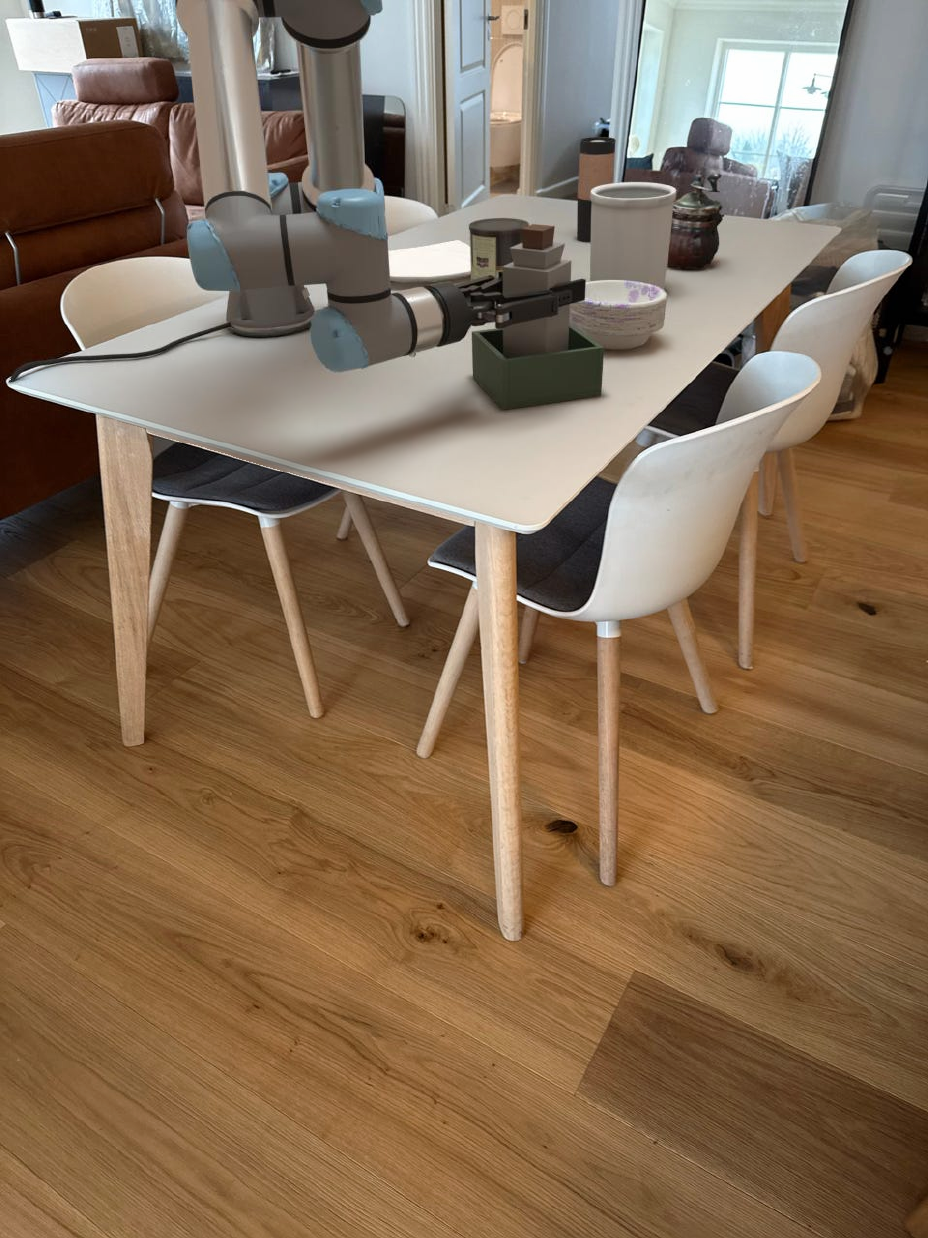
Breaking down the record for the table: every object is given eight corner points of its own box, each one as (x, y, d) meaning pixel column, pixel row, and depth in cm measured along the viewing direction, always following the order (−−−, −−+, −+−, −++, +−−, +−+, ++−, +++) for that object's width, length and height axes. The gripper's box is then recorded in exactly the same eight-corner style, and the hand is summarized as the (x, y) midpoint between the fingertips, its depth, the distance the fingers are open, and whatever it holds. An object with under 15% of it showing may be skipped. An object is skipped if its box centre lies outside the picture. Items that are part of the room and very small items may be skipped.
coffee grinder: (681, 279, 174) (692, 176, 164) (647, 261, 186) (655, 164, 176) (740, 272, 177) (754, 171, 167) (703, 255, 189) (714, 159, 178)
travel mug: (570, 236, 206) (574, 138, 195) (601, 233, 208) (606, 135, 196) (584, 243, 200) (588, 142, 189) (615, 240, 202) (622, 140, 190)
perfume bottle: (567, 359, 129) (572, 224, 119) (545, 374, 124) (548, 234, 114) (526, 352, 132) (527, 220, 122) (503, 366, 127) (502, 230, 117)
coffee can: (531, 299, 166) (532, 217, 158) (523, 316, 157) (524, 230, 149) (476, 298, 168) (474, 216, 159) (465, 314, 159) (463, 229, 151)
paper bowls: (676, 333, 147) (681, 283, 143) (641, 362, 137) (646, 309, 132) (590, 321, 154) (592, 273, 149) (551, 348, 143) (552, 296, 139)
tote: (502, 410, 123) (502, 361, 119) (472, 377, 134) (471, 331, 130) (601, 395, 126) (604, 347, 122) (564, 364, 137) (565, 319, 133)
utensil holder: (629, 308, 160) (637, 200, 150) (569, 291, 169) (573, 189, 159) (683, 291, 167) (694, 188, 157) (623, 276, 177) (629, 178, 167)
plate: (507, 277, 179) (507, 262, 178) (389, 293, 172) (388, 278, 171) (461, 250, 198) (461, 238, 196) (354, 264, 191) (352, 251, 189)
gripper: (387, 329, 122) (517, 297, 133) (478, 366, 109) (613, 327, 120) (383, 271, 118) (518, 243, 129) (476, 303, 105) (617, 268, 116)
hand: (564, 283), depth 125 cm, fingers closed on perfume bottle, 7 cm apart
